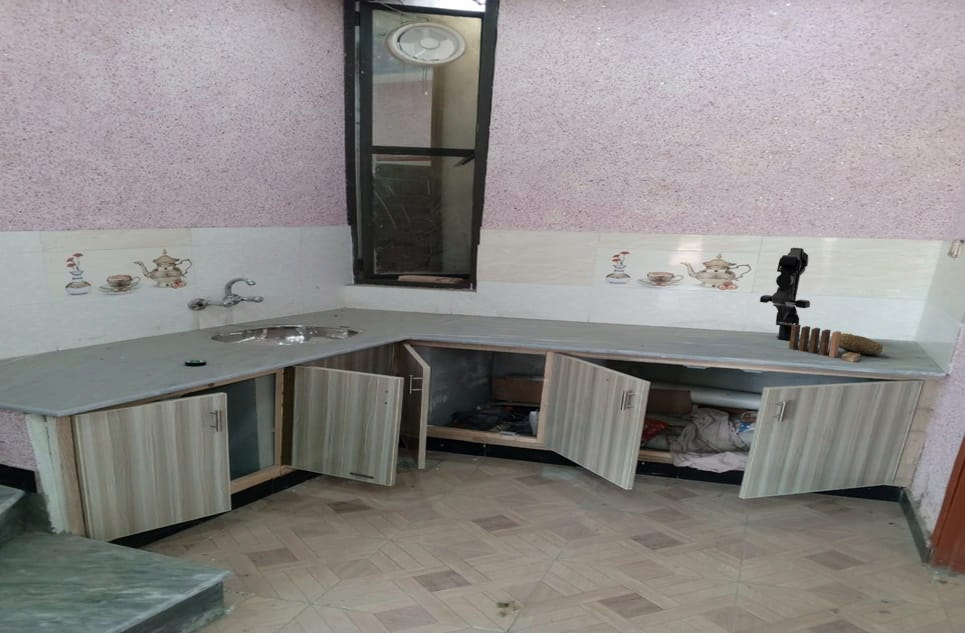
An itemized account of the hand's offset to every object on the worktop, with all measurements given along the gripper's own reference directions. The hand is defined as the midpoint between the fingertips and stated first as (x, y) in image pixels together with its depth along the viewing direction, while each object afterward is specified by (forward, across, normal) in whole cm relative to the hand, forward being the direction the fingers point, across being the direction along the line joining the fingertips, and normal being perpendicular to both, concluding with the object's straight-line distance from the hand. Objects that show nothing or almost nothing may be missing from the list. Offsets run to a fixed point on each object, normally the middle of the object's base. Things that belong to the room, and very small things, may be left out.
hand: (782, 321), depth 253 cm
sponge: (+11, +25, +18) cm, 33 cm away
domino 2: (+11, +10, 0) cm, 15 cm away
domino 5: (+11, +22, 0) cm, 24 cm away
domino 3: (+11, +14, 0) cm, 18 cm away
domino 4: (+11, +18, 0) cm, 21 cm away
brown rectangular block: (+11, +6, 0) cm, 12 cm away
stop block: (+11, +28, 0) cm, 30 cm away
